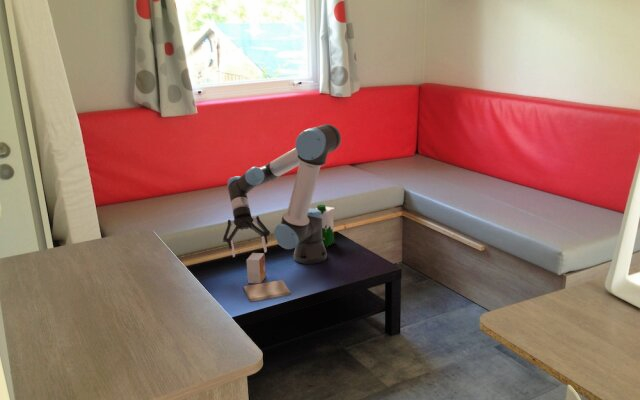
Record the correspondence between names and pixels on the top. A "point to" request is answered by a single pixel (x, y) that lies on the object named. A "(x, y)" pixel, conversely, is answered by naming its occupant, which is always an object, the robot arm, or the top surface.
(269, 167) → the robot arm
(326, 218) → the milk carton
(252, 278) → the small box
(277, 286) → the birch board
